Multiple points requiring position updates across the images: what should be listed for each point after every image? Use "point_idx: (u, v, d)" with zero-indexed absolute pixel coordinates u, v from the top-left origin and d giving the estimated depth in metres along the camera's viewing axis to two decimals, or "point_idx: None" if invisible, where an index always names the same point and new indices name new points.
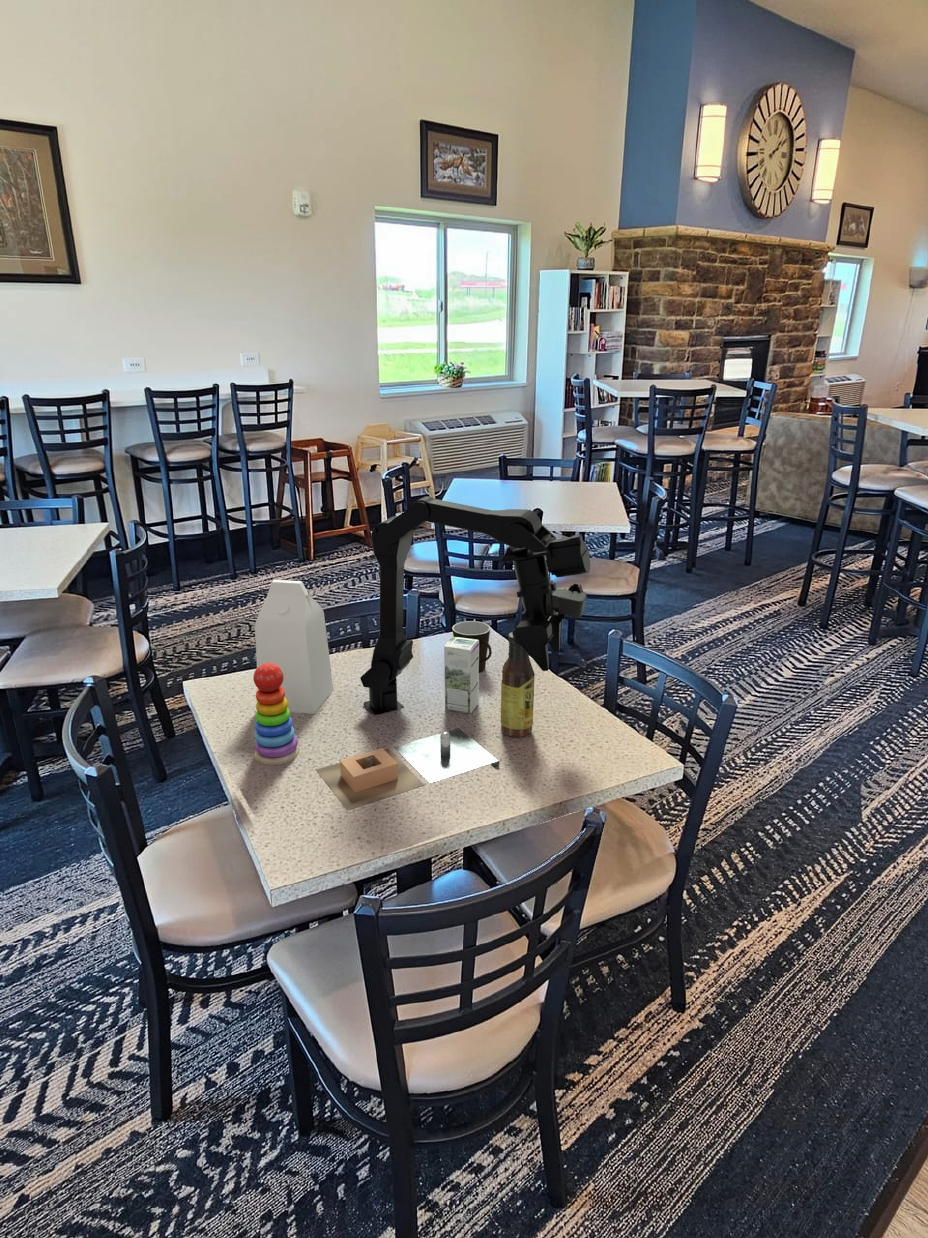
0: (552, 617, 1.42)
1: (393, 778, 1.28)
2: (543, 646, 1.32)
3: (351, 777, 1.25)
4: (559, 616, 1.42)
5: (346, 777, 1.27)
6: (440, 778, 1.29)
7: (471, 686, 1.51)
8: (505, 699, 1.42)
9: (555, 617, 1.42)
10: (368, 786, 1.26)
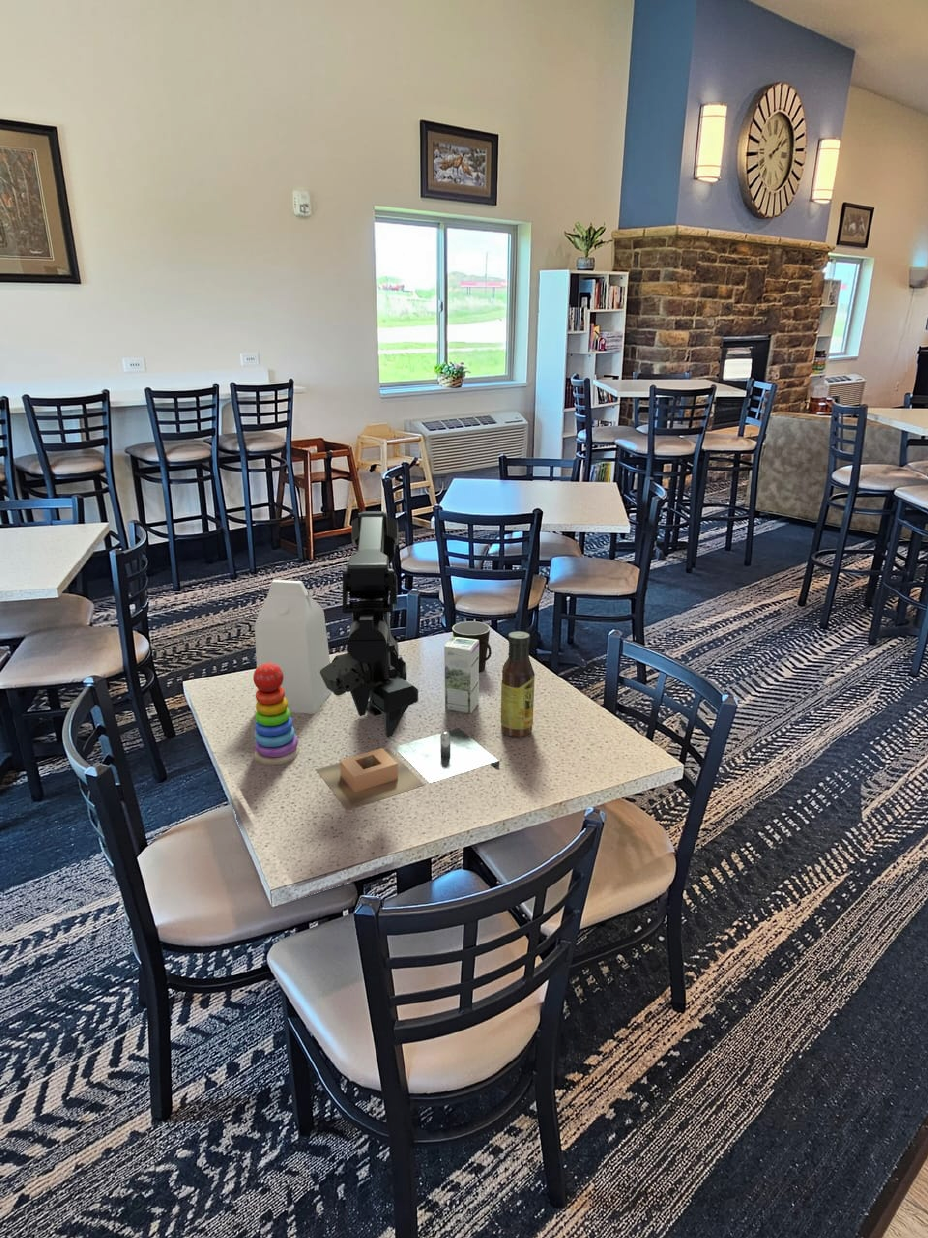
0: None
1: (393, 778, 1.28)
2: None
3: (351, 777, 1.25)
4: None
5: (346, 777, 1.27)
6: (440, 778, 1.29)
7: (471, 686, 1.51)
8: (505, 699, 1.42)
9: None
10: (368, 786, 1.26)
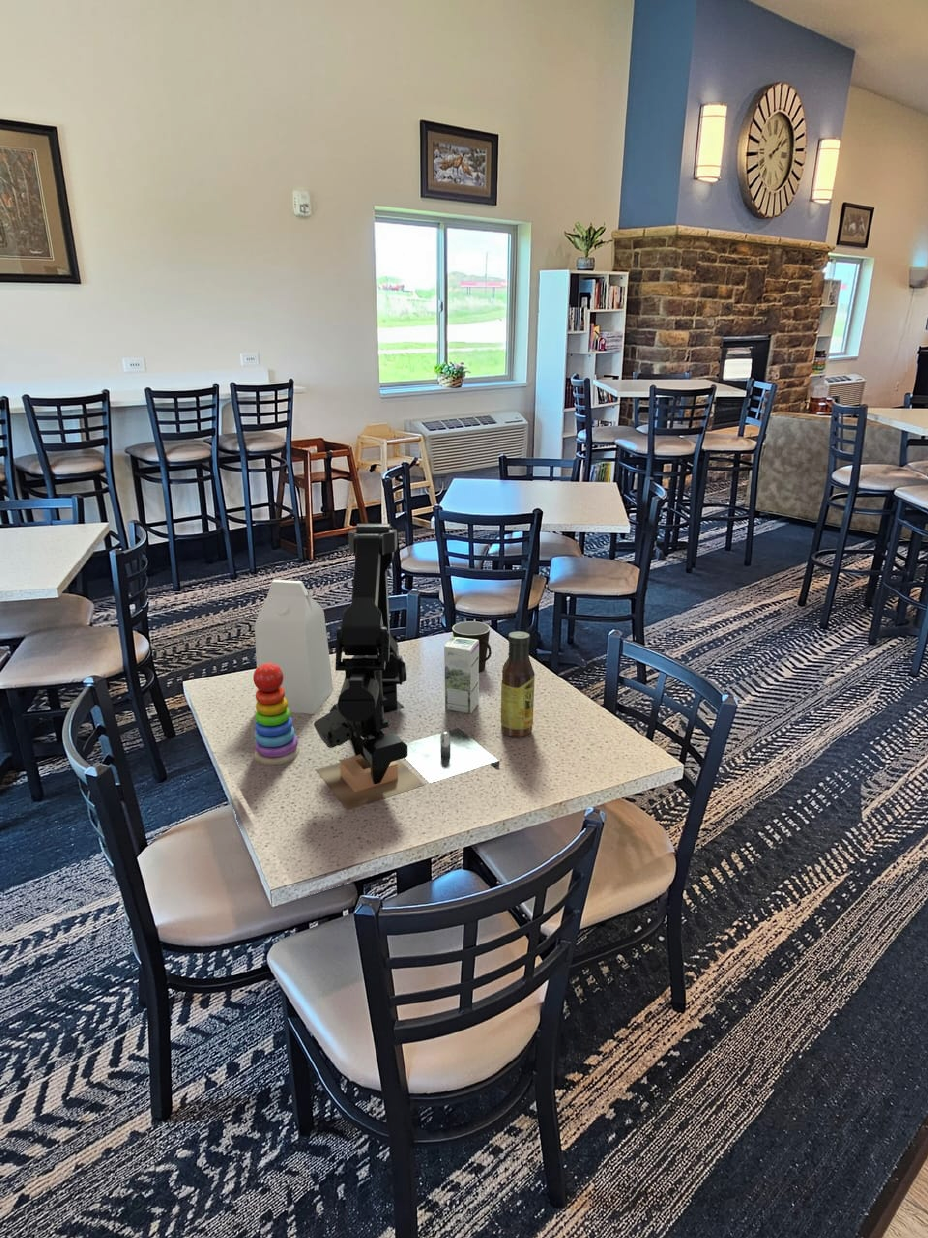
0: None
1: (393, 778, 1.28)
2: None
3: (351, 777, 1.25)
4: None
5: (346, 777, 1.27)
6: (440, 778, 1.29)
7: (471, 686, 1.51)
8: (505, 699, 1.42)
9: None
10: (368, 786, 1.26)
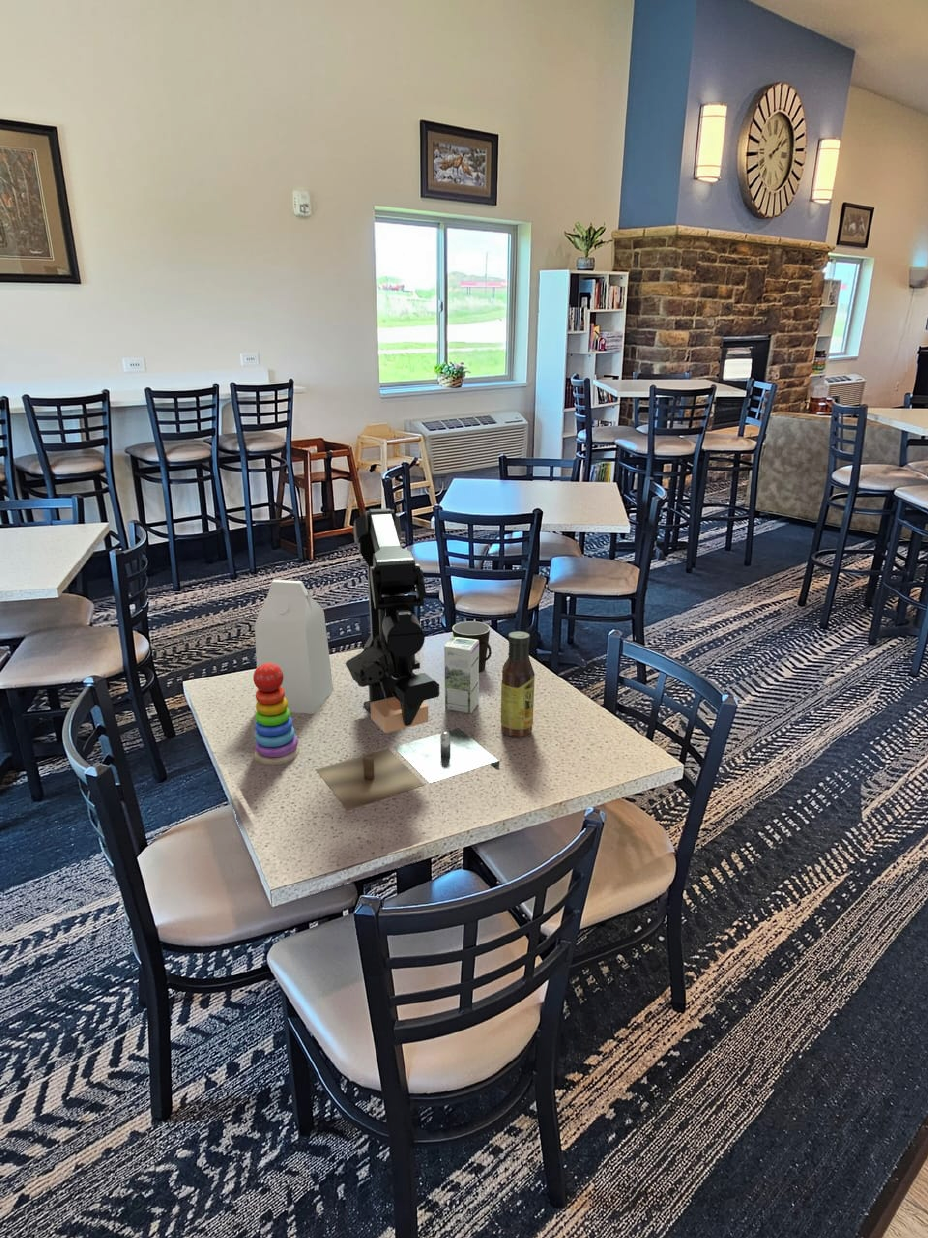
0: None
1: (423, 721, 1.28)
2: None
3: (382, 718, 1.25)
4: None
5: (377, 719, 1.27)
6: (440, 778, 1.29)
7: (471, 686, 1.51)
8: (505, 699, 1.42)
9: None
10: (399, 727, 1.26)
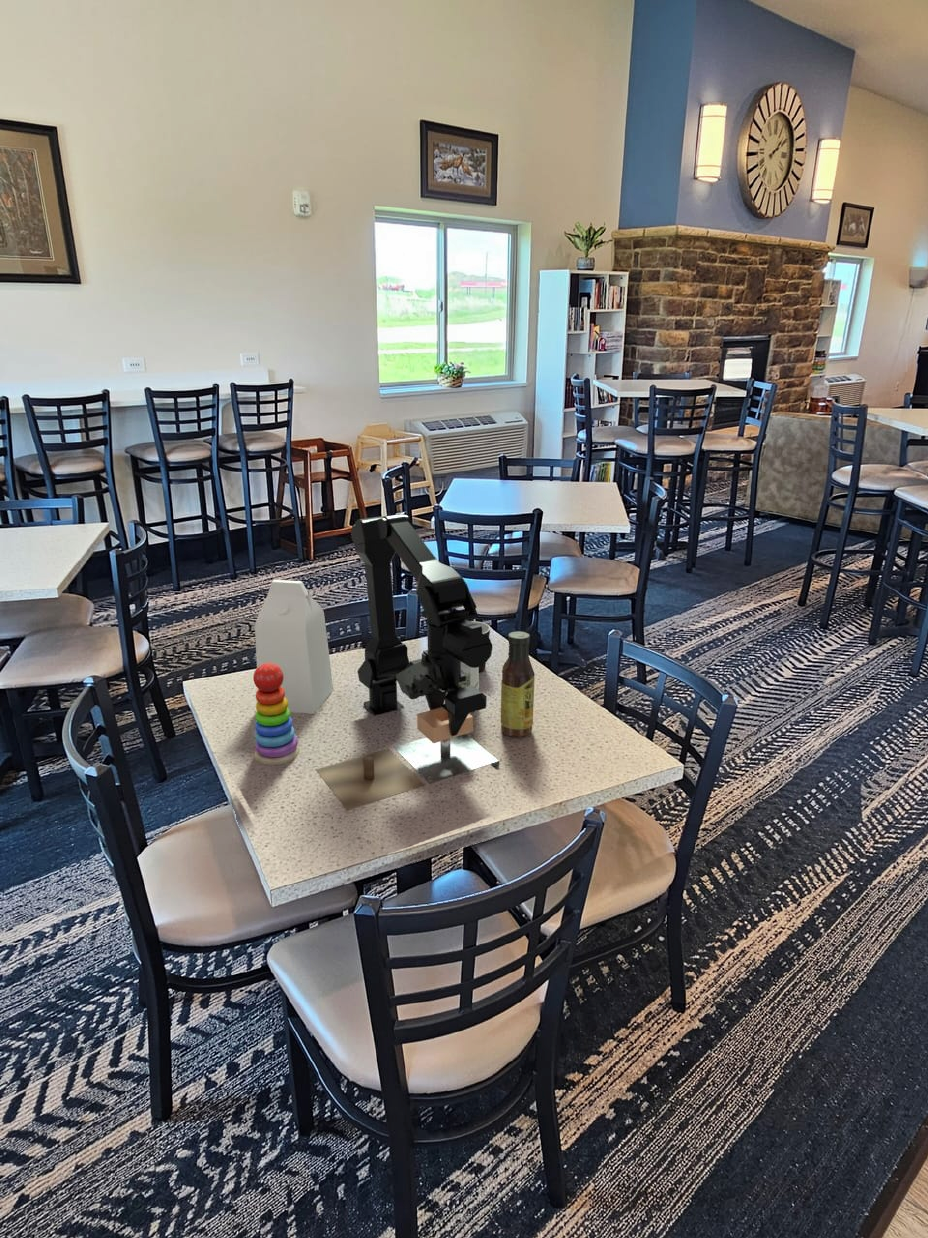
0: None
1: (468, 731, 1.34)
2: None
3: (430, 729, 1.30)
4: None
5: (424, 729, 1.33)
6: (440, 778, 1.29)
7: None
8: (505, 699, 1.42)
9: None
10: (446, 737, 1.31)
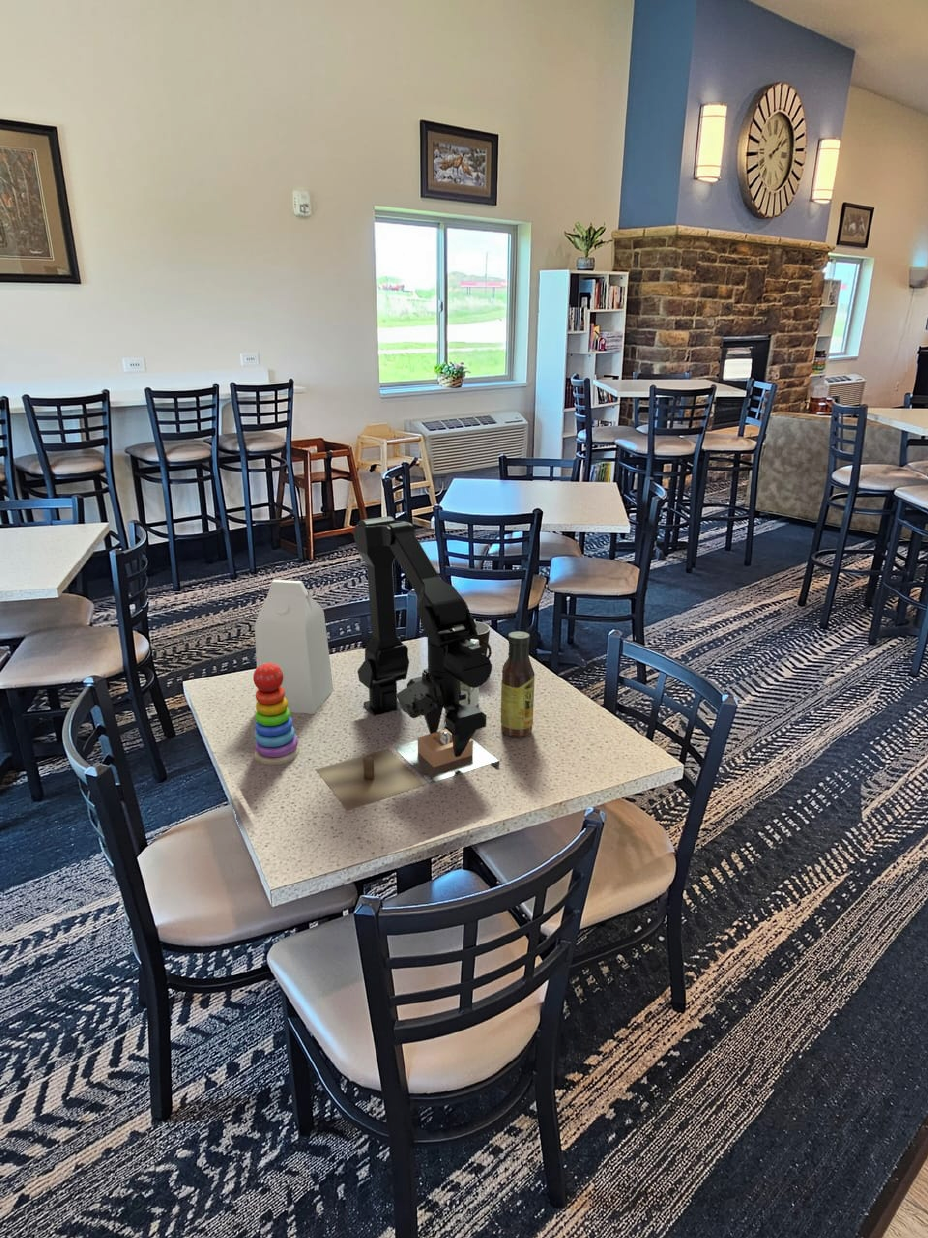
0: None
1: (468, 754, 1.35)
2: None
3: (430, 753, 1.32)
4: None
5: (424, 753, 1.34)
6: (440, 778, 1.29)
7: None
8: (505, 699, 1.42)
9: None
10: (446, 761, 1.33)
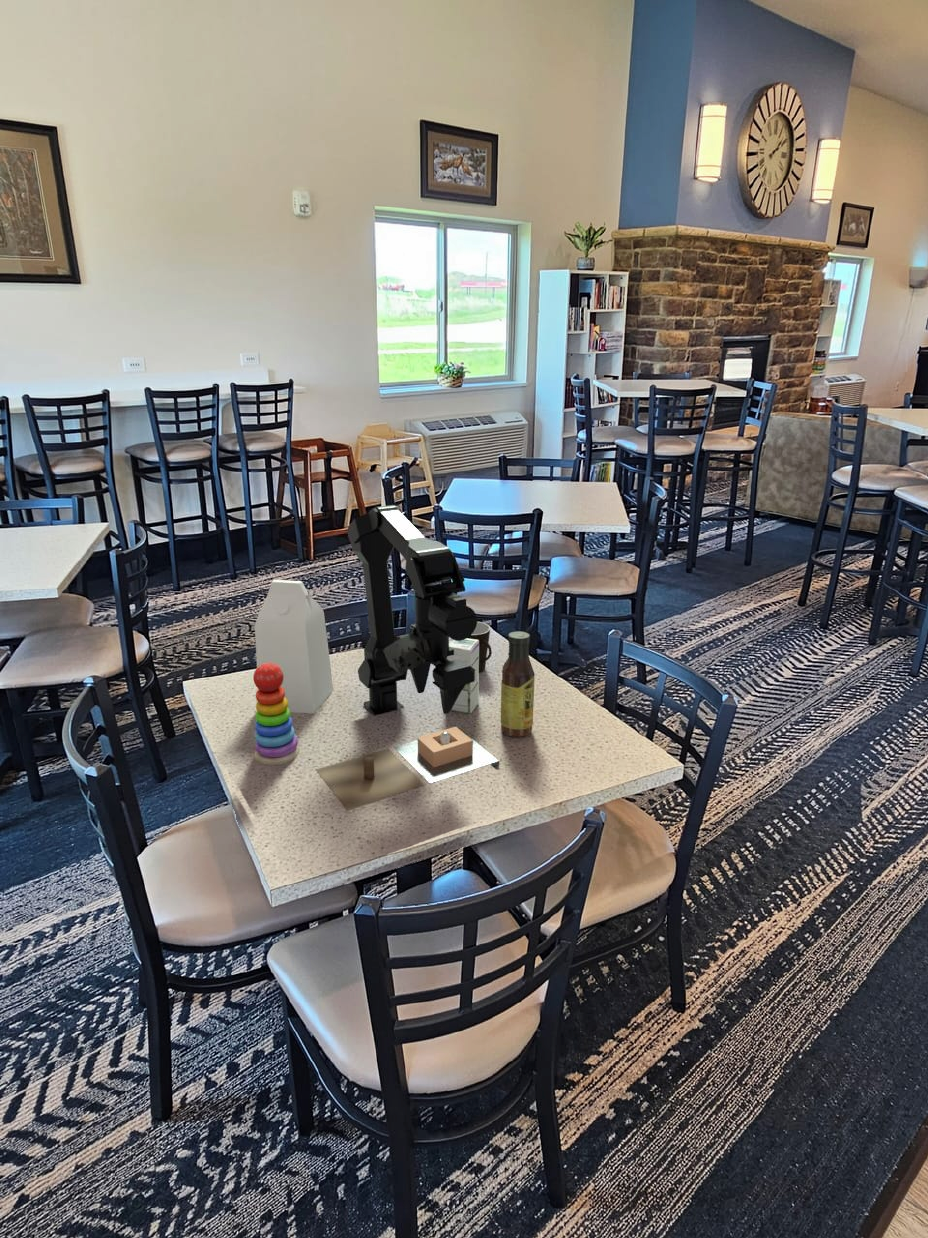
0: None
1: (468, 754, 1.35)
2: None
3: (430, 753, 1.32)
4: None
5: (424, 753, 1.34)
6: (440, 778, 1.29)
7: (471, 686, 1.51)
8: (505, 699, 1.42)
9: None
10: (446, 761, 1.33)
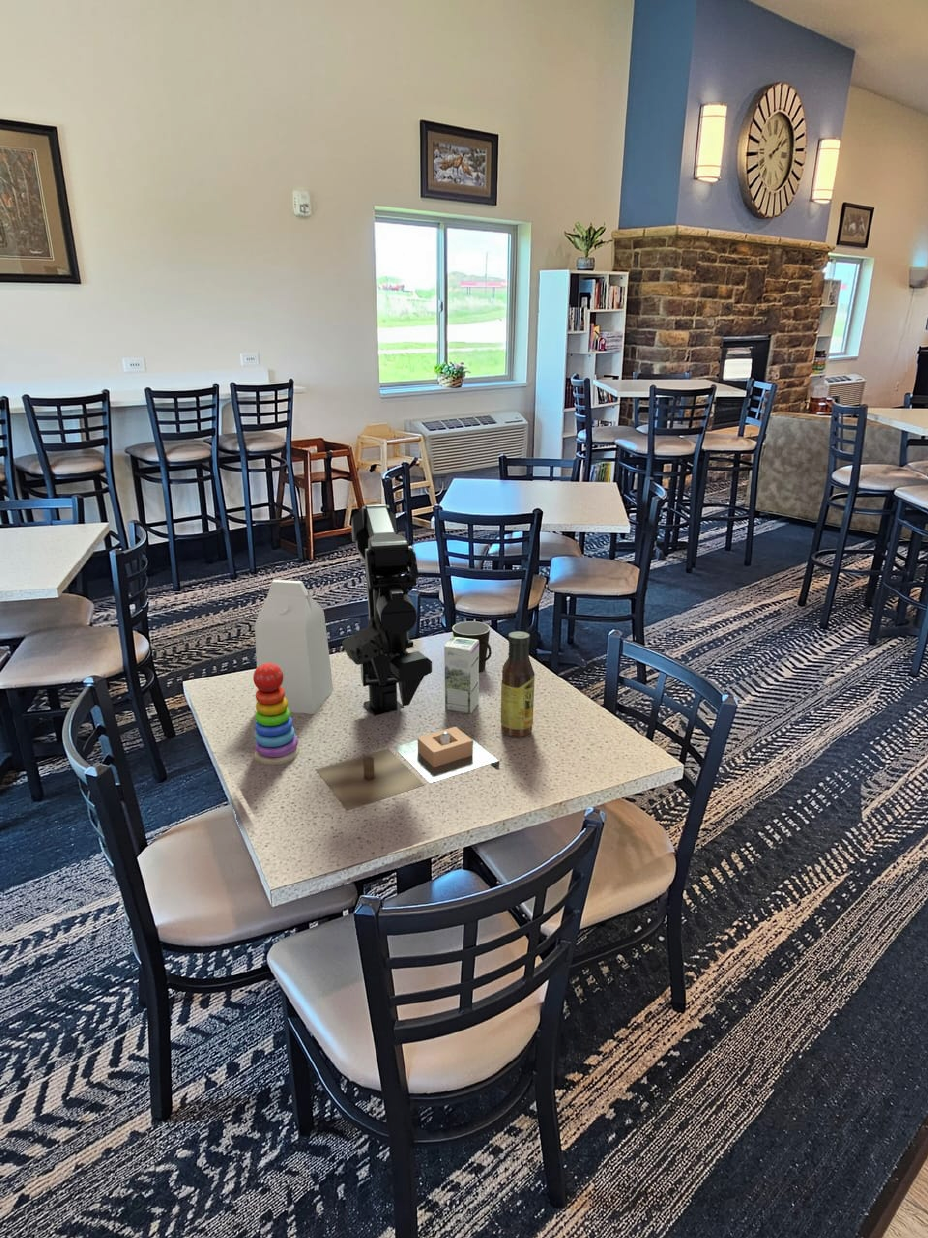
0: None
1: (468, 754, 1.35)
2: None
3: (430, 753, 1.32)
4: None
5: (424, 753, 1.34)
6: (440, 778, 1.29)
7: (471, 686, 1.51)
8: (505, 699, 1.42)
9: None
10: (446, 761, 1.33)
